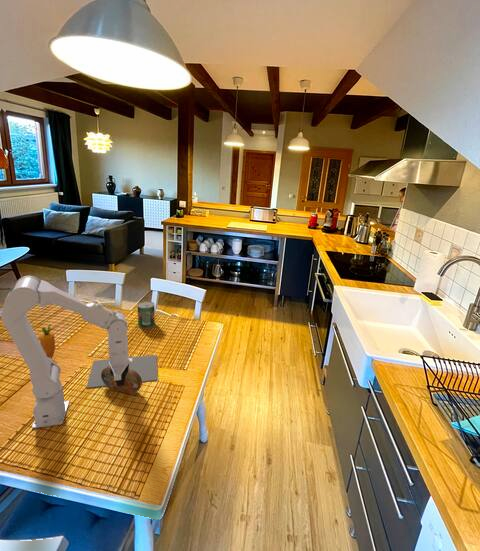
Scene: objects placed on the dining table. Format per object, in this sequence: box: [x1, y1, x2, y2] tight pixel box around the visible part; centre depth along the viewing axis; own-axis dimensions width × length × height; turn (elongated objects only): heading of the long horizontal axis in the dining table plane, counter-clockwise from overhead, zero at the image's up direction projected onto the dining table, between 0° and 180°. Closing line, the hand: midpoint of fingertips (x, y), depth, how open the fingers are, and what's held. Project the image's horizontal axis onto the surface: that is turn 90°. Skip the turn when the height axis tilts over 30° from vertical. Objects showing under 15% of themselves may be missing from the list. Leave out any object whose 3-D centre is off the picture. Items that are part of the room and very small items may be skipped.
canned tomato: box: [136, 300, 156, 330], centre depth 150 cm, size 8×8×11 cm
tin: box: [101, 365, 143, 395], centre depth 107 cm, size 15×3×8 cm, turn 73°
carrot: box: [39, 324, 56, 360], centre depth 119 cm, size 5×5×15 cm
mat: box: [86, 354, 159, 389], centre depth 118 cm, size 16×24×1 cm, turn 106°
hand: (120, 384), depth 103 cm, fingers closed
